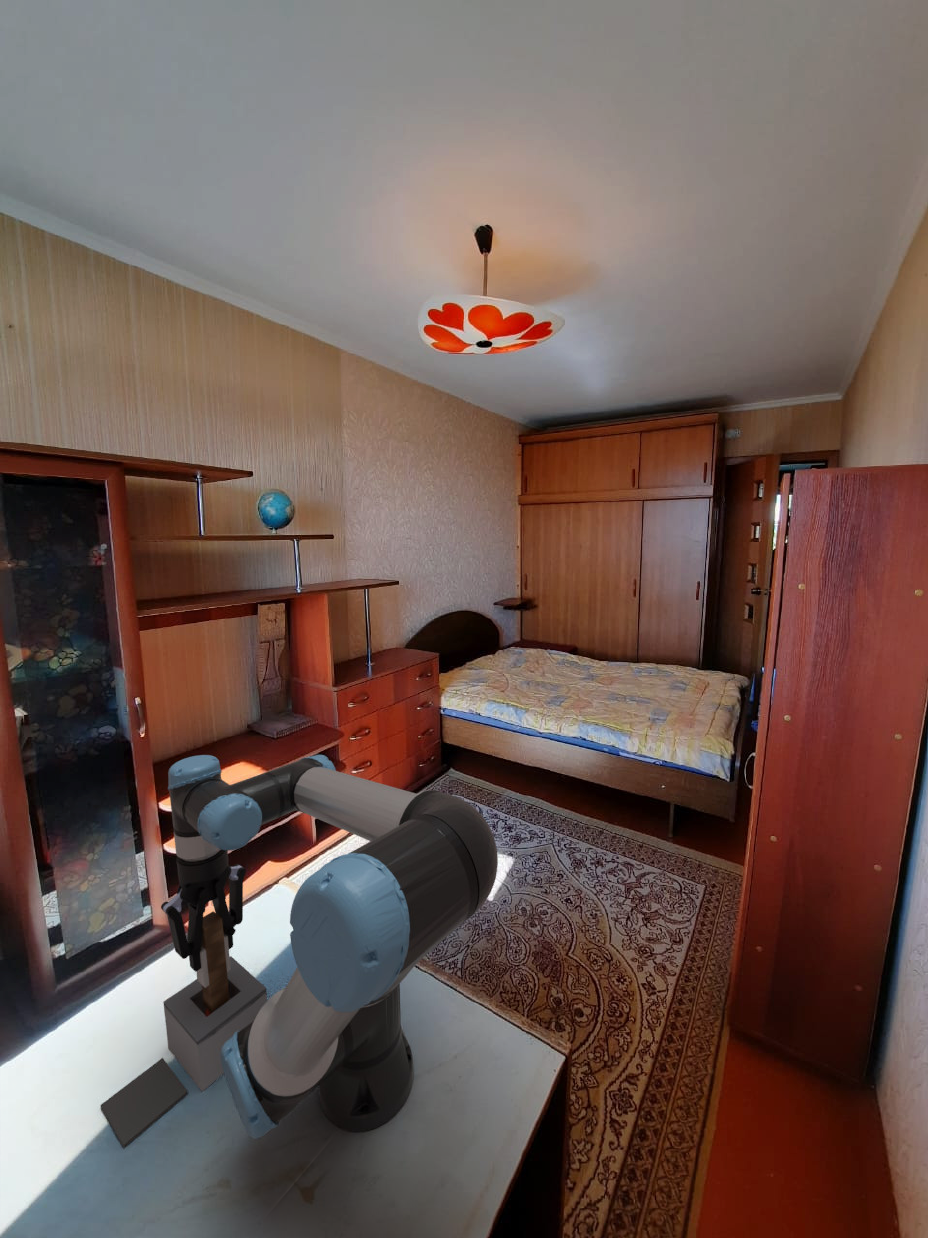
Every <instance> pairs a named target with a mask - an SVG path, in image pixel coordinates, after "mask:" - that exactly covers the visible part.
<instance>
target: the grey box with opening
mask: <svg viewBox="0 0 928 1238" xmlns="http://www.w3.org/2000/svg"><path fill="white" fill-rule="evenodd" d="M229 956H230V967H231V970H230V971H228V972H227V977H228V988H229V999H230V1000H229V1001H228V1002H226V1003H225V1004H224V1005H222V1006H221V1007H220V1008H218V1009H217V1010H216V1011H214V1012H213V1013H212V1014H210V1015H209V1016H208V1017H206V1015H205V1012H206V1009H207V1008H206V1007H205V1006H204V1000H203V990H202V984H201V983H200V982H199V981H198V980H197V978H196V979H195V980H193V981H192V982H191V983H189V984H187V985H186V986H185V987H183V988H181V989H180V990H178V991H177V992H175V994H173V995H171V996H170V997H168V998H167V999H165V1000H164V1001H163V1003H162V1004H163V1009H164V1010H163V1011H164V1021H165V1027H166V1029H165V1030H166V1031H165V1032H166V1037H167V1039H166V1040H167V1047H168V1050H169V1051H170V1052H171V1054H172V1055H173V1056H174V1058H175V1059H176V1060H177V1062H178V1063H179V1064H180V1066H181V1067H182V1068H183V1069H184V1071H185V1072H186V1073H187V1074H188V1075H189V1077H190V1079H192V1081H193V1082H194V1083H195V1084H196V1086H197V1087H198V1089H199V1090H200V1091H201V1092H204V1091H205V1090H206V1089H208V1087H210V1086H211V1085H212V1084H213V1083H215V1082H216V1080H218V1079H219V1078H220V1077H221V1076H222V1075H224V1071H223V1067H222V1062H221V1049H222V1046H223V1045H224V1043H225V1042H226V1041H228V1040H229V1039H230V1038H231V1037H232V1036H233V1035H234V1034H235V1032H237V1031H241V1030H242V1029H243V1028H245V1027H246V1026H248V1025H249V1024H250V1023H251V1022H253V1021H254V1019H255V1017H256V1016H257V1014H258V1012H259V1011H260V1009H261V1008H262V1006H263V1005H264V1004H265V1003H266V1002H267V1001H268V990H267V987H266V986H265V985H264V984H263V983H261V982H260V980H258V979H257V978H256V977H255V976H254V974H252V973H250V972H249V971H248V970H247V969H246V968H245V967H244V966H242V965H241V963H240V962H238V961H237V960H236V959H235V958H234V957H233V956H232V955H229Z"/></svg>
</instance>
